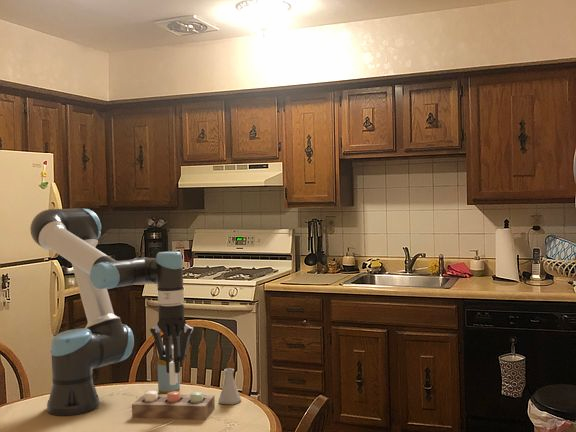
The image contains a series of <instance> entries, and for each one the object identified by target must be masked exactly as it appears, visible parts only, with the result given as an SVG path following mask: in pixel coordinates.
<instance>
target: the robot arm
mask: <svg viewBox="0 0 576 432" xmlns="http://www.w3.org/2000/svg"><path fill="white" fill-rule="evenodd" d="M29 228H30V235H31V238H32V240H33V241H34V243H36V244H37V245H38V246H40V247H41V248H43V250H45V251H46V250H47V251H53V252H54V253H56V254H57V255H59V256H60V257H61V258H64V259H65V260H67V261H68V262H70V263H71V266H72V270H73V273H74V276H75V277H74V278H75V280H76V285H77V287H78V291H79V296H80V299H81V303H82V306H83V309H84V313H85V317H86V320H87V324H86V326H85V327H82V328H81V327H80V328H74V329H73V328H72V329H69V330H65V331H64V330H63V331H62V332H59V333H57V334H56V335H54V337H53V338H52V340H51V347H50V348H51V349H50V354H51V372H52V373H51V376H52V378H51V379H52V386H51V390H50V393H49V398H48V400H47V403H46V410H47V411H46V412H47V413H48V414H50V415H54V416H74V415H80V414H84V413H87V412H91V411H94V410H95V409H97V408H98V407H99V406H100V397H99V395H98V393H97V389H96V387H95V383H94V382H93V369H99V368H101V367H105V366H109V365H112V364H117V363H120V362H122V361H125V360H127V359H128V358H129V357H130V356H131V355H132V352H133V349H134V345H135V339H134V338H135V337H134V333H133V330H132V328H130V327H129V326H128V325H127V324H123V323H122V319H121V317H120V316H117V315H116V314H115V312H114V309H113V305H112V301H111V298H110V295H109V291H108V290H110V289H114V288H120V287H126V286H133V285H135V286H136V285H141V284H142V285H143V284H157V303H158V307H157V309H158V312H157V313H158V321H157V325H154V327H151V328H150V329H149V331H150V333H151V334H152V336H153V339H154V342H155V345H156V351H157V353H158V359H159V358H160V360H164V361H165V362H166V371H167V373H170V385H175V384H176V383H178V375H177V373H179V372H181V361H183V360H185V359H186V358H187V355H188V349H189V345H190V340H191V335H192V333H193V331H194V330H195V329H194V327H193V326H190V325H188V324H187V321H186V318H185V305H184V302H185V300H184V299H185V297H184V296H185V293H184V263H183V255H182V253H181V252H180V251H159V252H158V253H157V254H156V257H155V258H154V257H146V256H145V257H143V256H142V257H135V258H134V257H133V259H124V260H115V259H114V258H112V257H111V256H109V255H107V254H106V253H104V252H102V251H101V250H99V249H98V248H96V247H97V245H98V244H99V241H98V240H99V238H100V237H101V234H102V232H101V231H102V223H101V221H100V218H99V216H98V215H97V214H96V212H94V210H91V209H90V208H81V207H75V208H49V209H45V210H43V211H41V212H39V213H37V214H36V215H35V216H34V217H33V219H32V221H31V223H30V227H29ZM160 331H161V332H160ZM182 332H184V335H183V339H182V346H181V340H180V339H181V333H182ZM161 333H162V334H163V338H164V344H163V339H162V334H161ZM163 345H165V349H164V346H163ZM172 345H173V348H174V361H172V359H173V358H172Z"/></svg>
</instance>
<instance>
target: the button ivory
mask: <svg viewBox="0 0 576 432" xmlns="http://www.w3.org/2000/svg"><path fill="white" fill-rule="evenodd" d="M158 394H159V391H156V390H149V391H146V392H144V394H143V395H145V402H156V401H157V400H158Z"/></svg>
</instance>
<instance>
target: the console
mask: <svg viewBox="0 0 576 432" xmlns="http://www.w3.org/2000/svg"><path fill="white" fill-rule="evenodd" d="M215 402H216V401H215V395H214V394H213V395H212V394H203V402H202V403H190V394H180V402H167V394H160V393H158V400H157V401H156V402H145V395H144V394H143V395H142V396H140V397H139V398H137V399H136V400H135V401H134V402H133V403H131V413H132V414H131V417H132V418H131V419H154V420H157V419H158V420H160V419H161V420H162V419H163V420H187V421H188V420H189V421H190V420H193V421H206V420H207V419H208V418H209V416H210V415H211V414H212V413H213V411H214V410H215V409H216V403H215Z"/></svg>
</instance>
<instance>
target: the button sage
mask: <svg viewBox="0 0 576 432" xmlns="http://www.w3.org/2000/svg"><path fill="white" fill-rule="evenodd" d="M189 395H190V403H202V402H203V395H204V393H203V392H202V391H194V392H191V393H189Z"/></svg>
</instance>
